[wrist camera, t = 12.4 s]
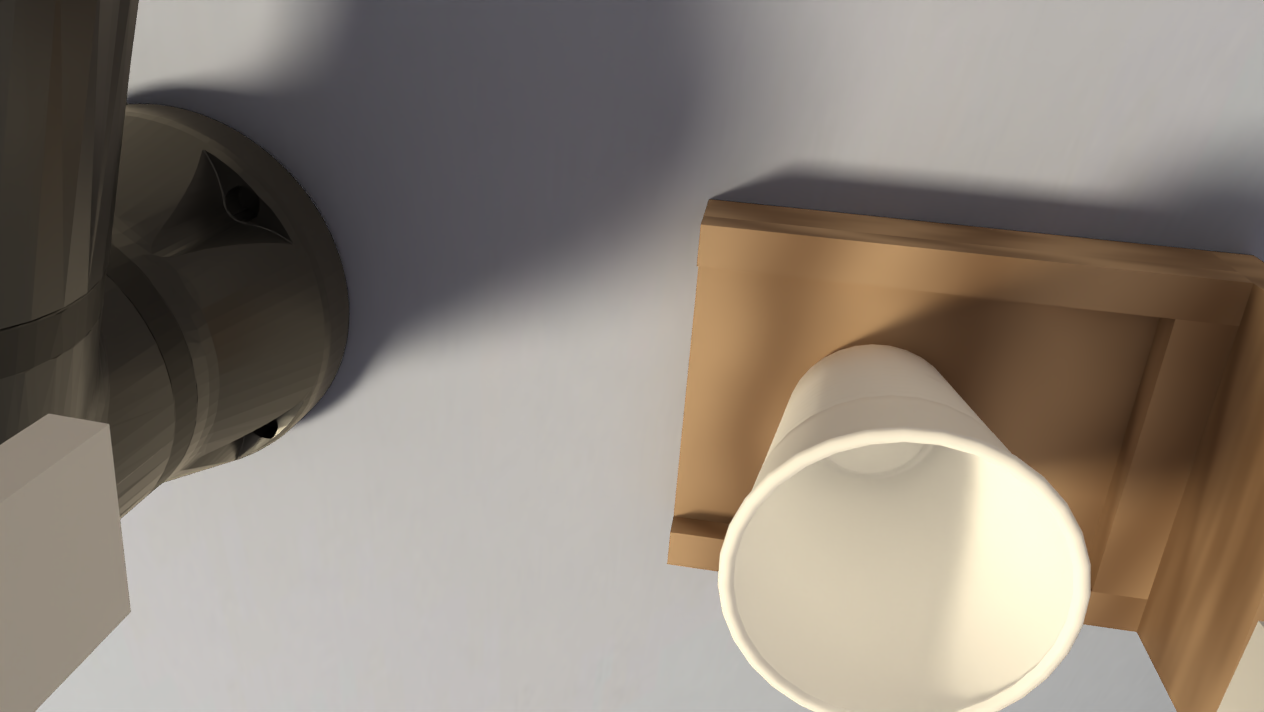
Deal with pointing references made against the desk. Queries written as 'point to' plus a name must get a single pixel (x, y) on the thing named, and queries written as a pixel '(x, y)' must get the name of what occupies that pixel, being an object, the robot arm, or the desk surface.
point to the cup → (899, 550)
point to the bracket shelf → (1015, 395)
